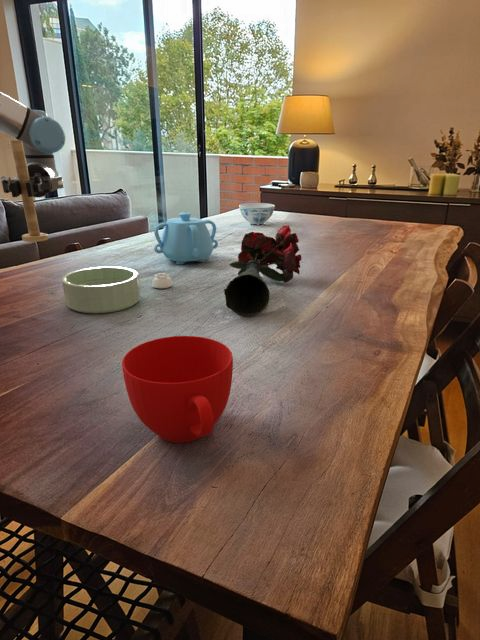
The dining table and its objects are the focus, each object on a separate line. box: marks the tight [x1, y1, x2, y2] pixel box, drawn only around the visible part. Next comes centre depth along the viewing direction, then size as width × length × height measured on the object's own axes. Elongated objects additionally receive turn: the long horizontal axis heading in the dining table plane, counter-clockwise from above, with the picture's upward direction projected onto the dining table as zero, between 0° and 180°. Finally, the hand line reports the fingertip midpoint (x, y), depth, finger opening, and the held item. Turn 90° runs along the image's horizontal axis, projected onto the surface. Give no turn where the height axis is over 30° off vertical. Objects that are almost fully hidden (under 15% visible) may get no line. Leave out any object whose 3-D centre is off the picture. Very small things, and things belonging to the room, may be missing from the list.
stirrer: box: [10, 139, 49, 243], centre depth 97 cm, size 5×5×20 cm
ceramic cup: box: [121, 335, 234, 444], centre depth 55 cm, size 13×17×10 cm
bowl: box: [61, 266, 142, 314], centre depth 100 cm, size 16×16×6 cm
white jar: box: [151, 272, 174, 290], centre depth 112 cm, size 5×3×5 cm
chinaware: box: [238, 202, 276, 225], centre depth 194 cm, size 15×15×8 cm
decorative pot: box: [153, 212, 219, 265], centre depth 134 cm, size 16×16×14 cm
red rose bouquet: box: [223, 224, 303, 318], centre depth 107 cm, size 16×18×35 cm
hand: (21, 189), depth 92 cm, fingers closed on stirrer, 2 cm apart
